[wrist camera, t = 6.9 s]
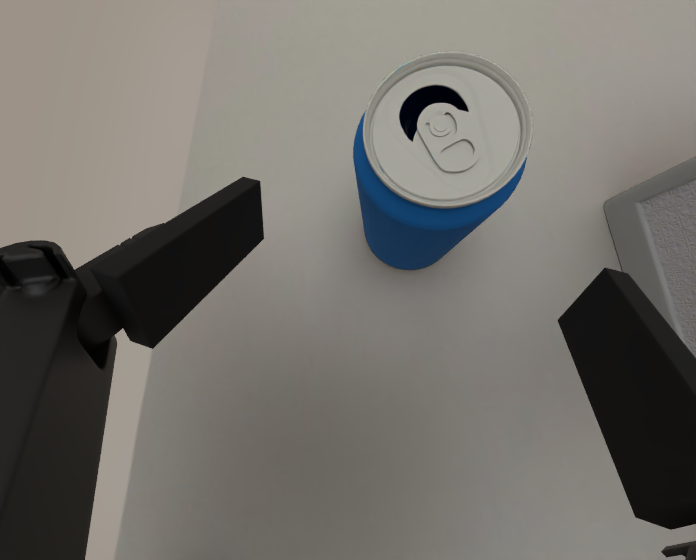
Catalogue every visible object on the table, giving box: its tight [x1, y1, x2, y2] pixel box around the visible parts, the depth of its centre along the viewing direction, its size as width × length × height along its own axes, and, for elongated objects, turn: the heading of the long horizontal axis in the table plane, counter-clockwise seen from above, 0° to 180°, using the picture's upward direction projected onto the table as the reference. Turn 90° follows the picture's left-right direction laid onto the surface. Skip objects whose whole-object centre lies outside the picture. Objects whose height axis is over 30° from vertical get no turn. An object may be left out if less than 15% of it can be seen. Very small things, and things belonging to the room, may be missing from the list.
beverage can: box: [353, 51, 533, 270], centre depth 16 cm, size 6×6×12 cm
